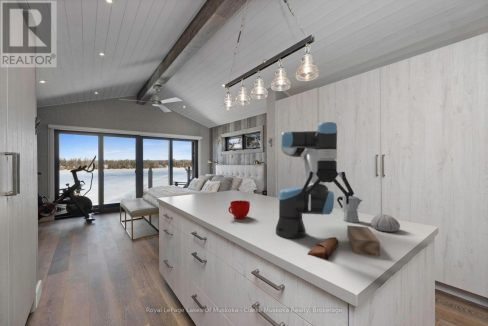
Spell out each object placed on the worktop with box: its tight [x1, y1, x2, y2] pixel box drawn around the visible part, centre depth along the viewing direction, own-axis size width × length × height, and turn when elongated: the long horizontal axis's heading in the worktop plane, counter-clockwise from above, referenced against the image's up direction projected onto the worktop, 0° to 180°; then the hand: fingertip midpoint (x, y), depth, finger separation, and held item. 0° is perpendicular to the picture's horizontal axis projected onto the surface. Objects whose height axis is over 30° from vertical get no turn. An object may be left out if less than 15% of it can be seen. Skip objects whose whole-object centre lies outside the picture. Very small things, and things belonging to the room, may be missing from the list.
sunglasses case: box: [307, 236, 339, 261], centre depth 88 cm, size 18×7×7 cm
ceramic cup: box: [227, 200, 251, 220], centre depth 136 cm, size 13×17×10 cm
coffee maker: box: [336, 195, 363, 224], centre depth 131 cm, size 15×9×18 cm, turn 48°
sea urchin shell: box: [370, 214, 401, 233], centre depth 114 cm, size 13×14×8 cm
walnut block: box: [346, 224, 381, 257], centre depth 93 cm, size 9×19×6 cm, turn 161°
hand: (326, 210), depth 87 cm, fingers open, 13 cm apart
